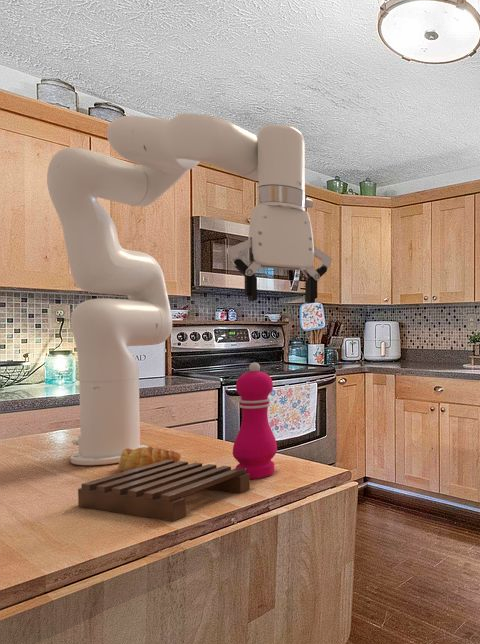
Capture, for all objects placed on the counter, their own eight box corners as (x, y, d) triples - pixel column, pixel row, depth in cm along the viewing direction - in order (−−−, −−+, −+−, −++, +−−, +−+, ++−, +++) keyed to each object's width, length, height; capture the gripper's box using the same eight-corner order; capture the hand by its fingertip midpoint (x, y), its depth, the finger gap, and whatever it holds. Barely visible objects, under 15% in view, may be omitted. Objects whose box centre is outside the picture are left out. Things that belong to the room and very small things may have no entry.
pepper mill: (260, 481, 84) (259, 364, 84) (223, 478, 86) (222, 363, 85) (285, 469, 91) (284, 361, 91) (250, 467, 93) (249, 360, 92)
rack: (78, 506, 72) (77, 483, 72) (164, 478, 86) (164, 459, 86) (173, 521, 67) (173, 496, 67) (249, 489, 80) (249, 468, 80)
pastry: (182, 460, 97) (182, 441, 97) (177, 469, 91) (177, 449, 91) (125, 465, 93) (124, 445, 93) (115, 475, 87) (115, 454, 87)
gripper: (323, 213, 93) (323, 304, 94) (221, 198, 83) (222, 300, 83) (338, 205, 87) (338, 303, 88) (231, 188, 77) (232, 299, 78)
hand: (282, 301), depth 86 cm, fingers open, 9 cm apart
